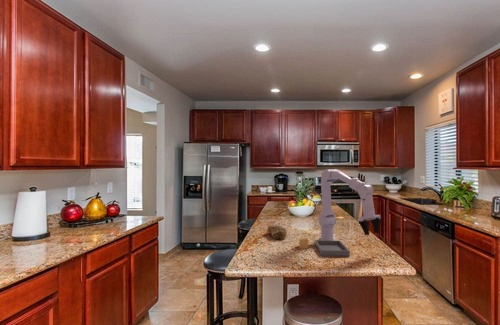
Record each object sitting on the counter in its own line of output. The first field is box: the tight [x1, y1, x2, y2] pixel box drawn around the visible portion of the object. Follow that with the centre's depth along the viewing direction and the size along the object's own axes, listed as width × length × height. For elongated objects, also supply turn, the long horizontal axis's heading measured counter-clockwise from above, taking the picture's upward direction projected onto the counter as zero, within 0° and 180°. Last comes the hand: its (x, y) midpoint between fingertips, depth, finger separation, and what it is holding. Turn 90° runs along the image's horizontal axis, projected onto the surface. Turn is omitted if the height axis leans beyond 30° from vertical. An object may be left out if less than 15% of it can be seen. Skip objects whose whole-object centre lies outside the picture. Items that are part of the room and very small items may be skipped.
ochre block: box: [298, 237, 309, 249], centre depth 165 cm, size 5×5×5 cm
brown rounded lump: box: [267, 225, 288, 241], centre depth 191 cm, size 13×8×20 cm
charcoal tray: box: [314, 239, 351, 258], centre depth 157 cm, size 20×14×3 cm
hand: (372, 234), depth 151 cm, fingers open, 7 cm apart
